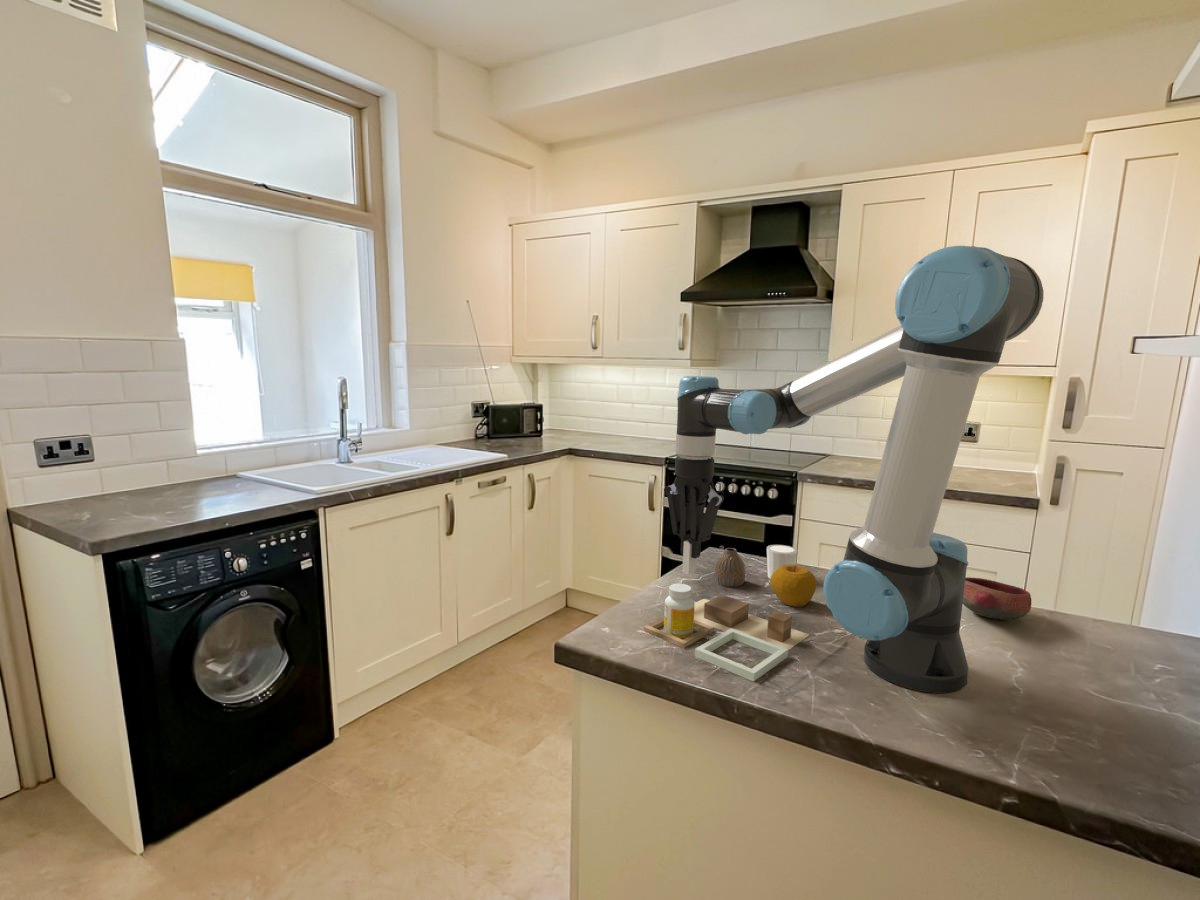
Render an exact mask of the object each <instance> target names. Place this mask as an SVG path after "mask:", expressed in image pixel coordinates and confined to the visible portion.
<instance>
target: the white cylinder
mask: <svg viewBox="0 0 1200 900" xmlns="http://www.w3.org/2000/svg"><path fill="white" fill-rule="evenodd" d="M797 554H798V550H797V549H796V548H795V547H792V546H790V545H784V544H770V545H768V546H766V562H767V563H766V564H767V578H768V579H770V578H771V575H772V574H773V573H774V572H775V571H776V570H777V569H778V568H779V567H781V566H783V565H796V560H797Z"/></svg>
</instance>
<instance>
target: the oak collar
mask: <svg viewBox="0 0 1200 900" xmlns="http://www.w3.org/2000/svg"><path fill="white" fill-rule="evenodd" d="M660 627H661V628H662V627H664V616H663V617H661V618H660V619H657V620H655V621H653V622H651V623H649V624H647V625H644V626H643V632H644V633H647V634H649V635H651V636H655V637H657V638H659V639H661V640H664V641H666V642H667V643H668V642H669V643H671V644H672V645H676V646H678V647H680V648H682V649H685V648H686V647H688V646H690V645H692V644H694V643H696V642H698V641H700V640H702V639H703V638H705V637H706V636H708V635H710V634H712V633H713V632H714V629H715V628H714V627H712V626H709V625H706V624H704V623H701V622H698V621H696V620H694V627H693V628H696V629H698V631H695V633H694V632H693V634H692V635H691V636H689V637H687V638H677V637H675V636H673V635H670V634H668V633H665V632H664V630H663V631H662V630H660V629H659V628H660Z"/></svg>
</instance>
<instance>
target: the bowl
mask: <svg viewBox="0 0 1200 900" xmlns="http://www.w3.org/2000/svg"><path fill="white" fill-rule="evenodd" d="M1031 597H1032V595H1031V593H1030V592H1029V591H1027V590H1026V589H1025V588H1024V589H1023V588H1021V587H1018V586H1014V585H1011V584H1006V583H1003V582H999V581H995V580H991V579H987V578H982V577H981V578H980V577H971V576H969V577H966V578H965V586H964V595H963V604H962V606H964V607H966V608H967V609H968V610H970V611H971V612H973V613H975V614H977V615H980V616H982V617H985V618H986V617H987V618H990V619H995V620H1003V621H1004V620H1005V621H1012V620H1019V619H1021V618H1023V617H1025V616H1026V615H1027V614H1028V613H1029V612H1030V611H1031V609H1032V598H1031Z"/></svg>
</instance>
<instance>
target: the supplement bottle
mask: <svg viewBox="0 0 1200 900" xmlns="http://www.w3.org/2000/svg"><path fill="white" fill-rule="evenodd" d="M695 603H696V602H695V601H694V599H693V598H692V586H690V585H688V584H684V583H673V584H671V585H669V586H668V596H667V597H666V598H665V600H664V613H663V614H664V615H663V617H664V625H663V632H665V633H668V634H670V635H673V636H675V637H677V638H680V639H685V638H687V637H689V636H691V635H692V634H694V628H695V627H694V607H695Z"/></svg>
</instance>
